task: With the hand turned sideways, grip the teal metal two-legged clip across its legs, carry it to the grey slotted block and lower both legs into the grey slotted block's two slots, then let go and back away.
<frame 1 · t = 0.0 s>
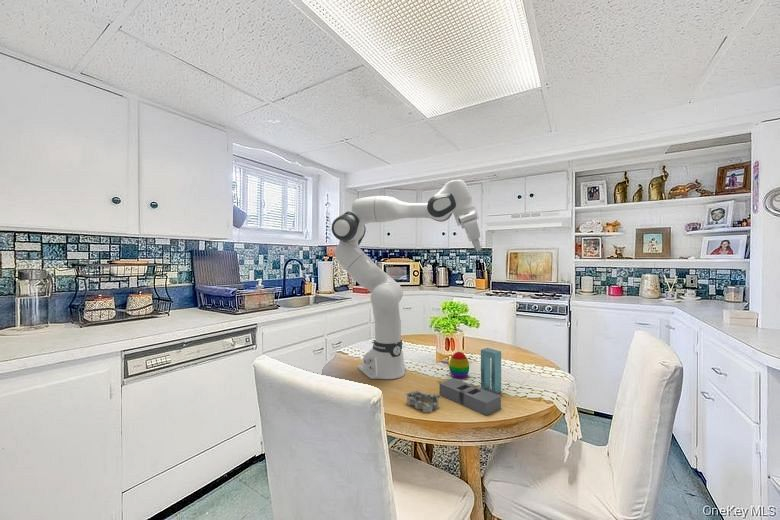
hand: (478, 250, 131), 52 cm above the table, tool tilted 20°, fingers open, 8 cm apart
grey slotted block: (468, 400, 113), on the table
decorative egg: (459, 376, 136), on the table
egg carton: (422, 406, 111), on the table
clip: (490, 390, 122), on the table
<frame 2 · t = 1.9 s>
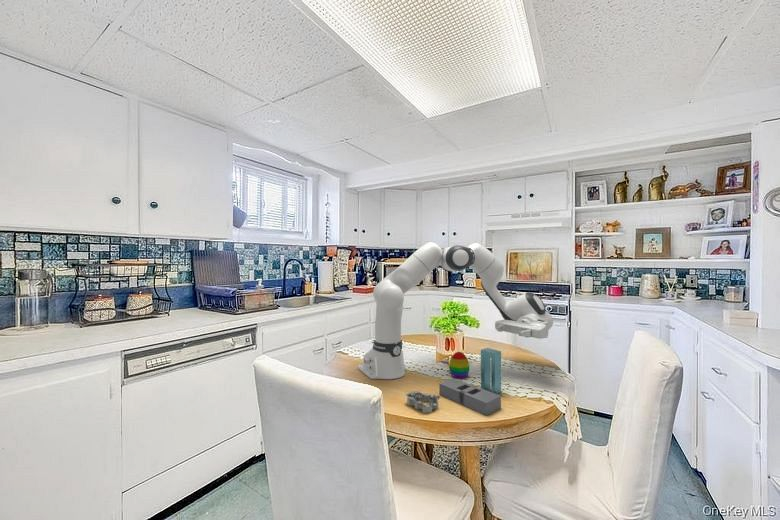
hand: (509, 331, 129), 20 cm above the table, tool horizontal, fingers open, 8 cm apart
nothing on the table moved.
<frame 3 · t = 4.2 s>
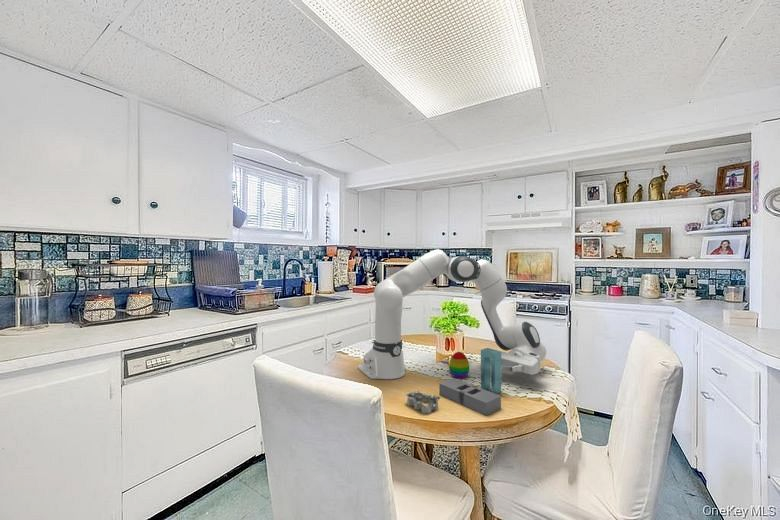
hand: (500, 366, 125), 8 cm above the table, tool horizontal, fingers open, 8 cm apart
nothing on the table moved.
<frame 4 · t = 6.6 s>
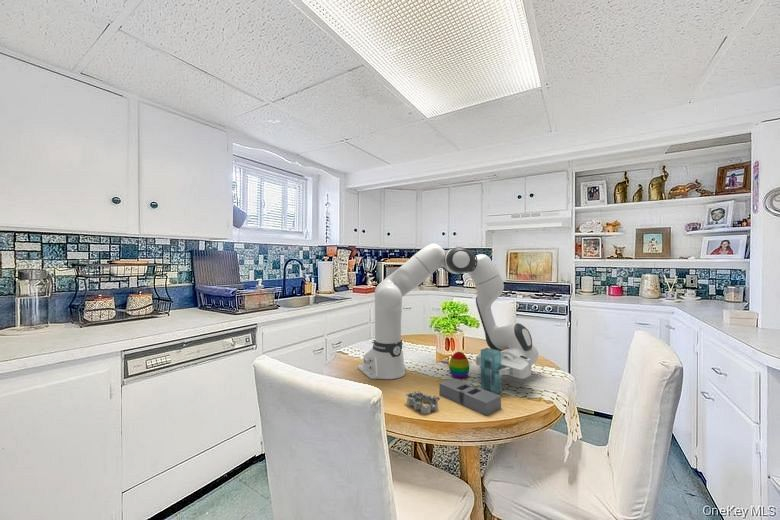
hand: (489, 369, 121), 8 cm above the table, tool horizontal, fingers closed on clip, 6 cm apart
clip: (490, 390, 122), on the table, touching gripper
everything else where it was.
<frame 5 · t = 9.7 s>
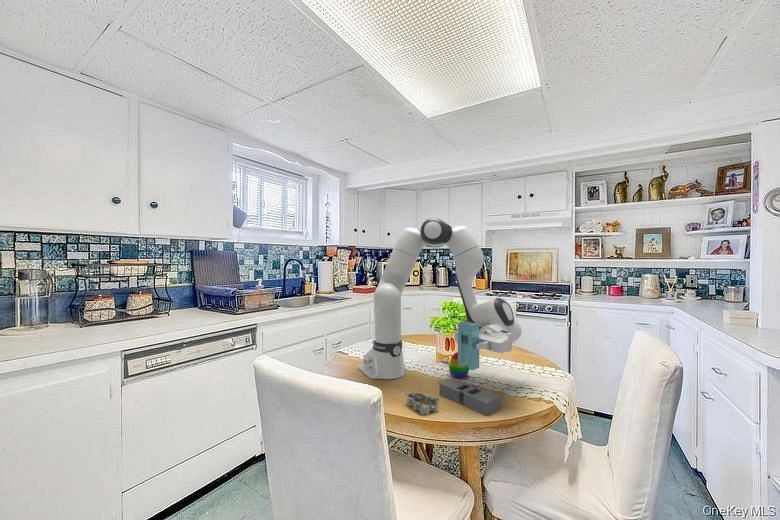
hand: (466, 344, 112), 20 cm above the table, tool horizontal, fingers closed on clip, 6 cm apart
clip: (468, 366, 113), point 12 cm above the table, touching gripper
when the fingers open (9 cm above the table, at t = 13.0 s): clip drops 1 cm, resting in grey slotted block.
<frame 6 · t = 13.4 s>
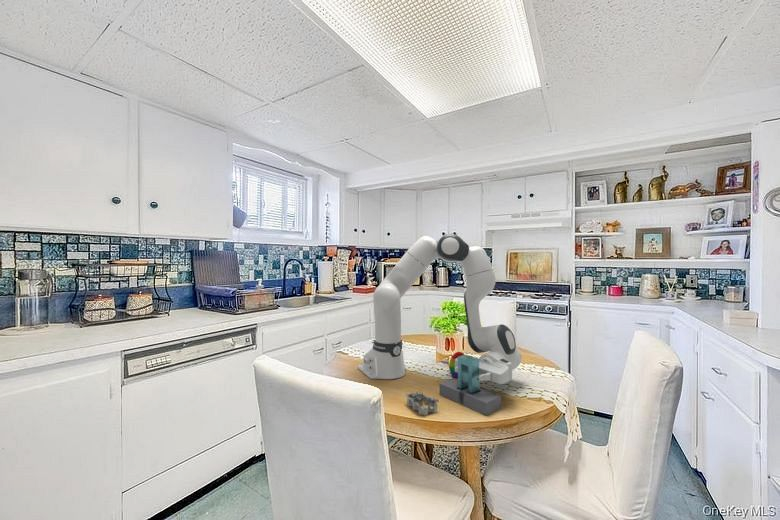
hand: (467, 374, 113), 9 cm above the table, tool horizontal, fingers open, 8 cm apart
clip: (468, 400, 114), resting in grey slotted block
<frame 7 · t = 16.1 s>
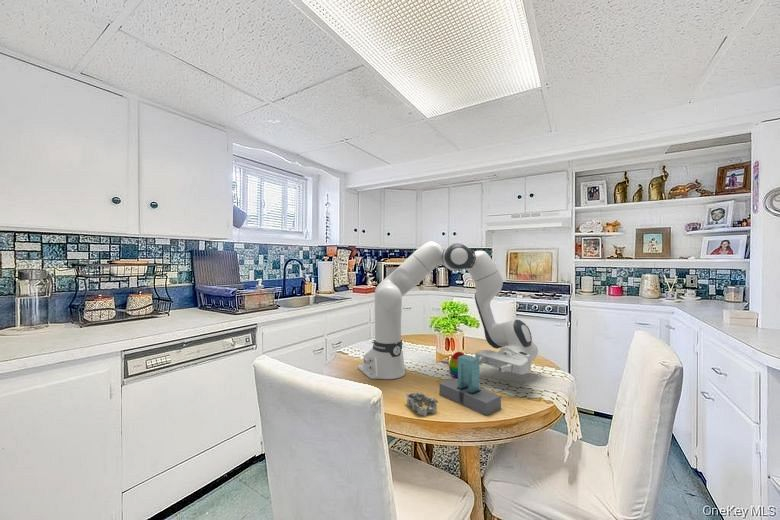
hand: (488, 365, 120), 10 cm above the table, tool horizontal, fingers open, 8 cm apart
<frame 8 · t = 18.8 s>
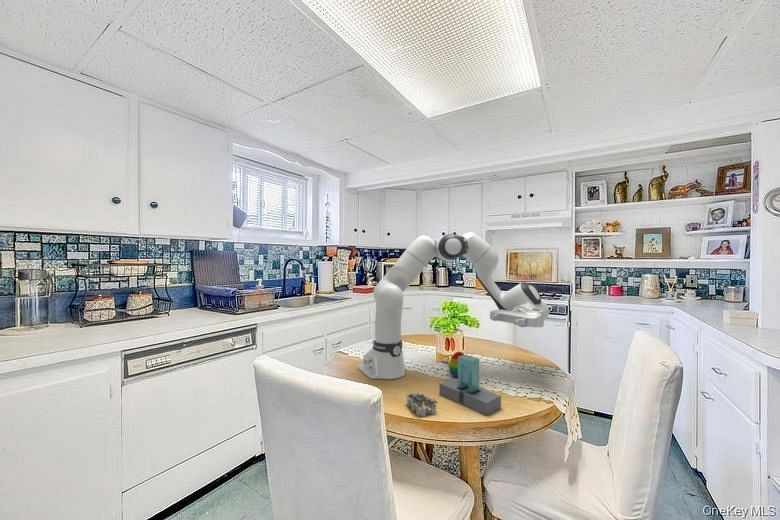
hand: (504, 320, 126), 25 cm above the table, tool horizontal, fingers open, 8 cm apart
at the end: clip 0.1 cm off-centre on the grey slotted block, point 0.0 cm above the grey slotted block's base; clip tilted 0°; the gripper is holding nothing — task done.
